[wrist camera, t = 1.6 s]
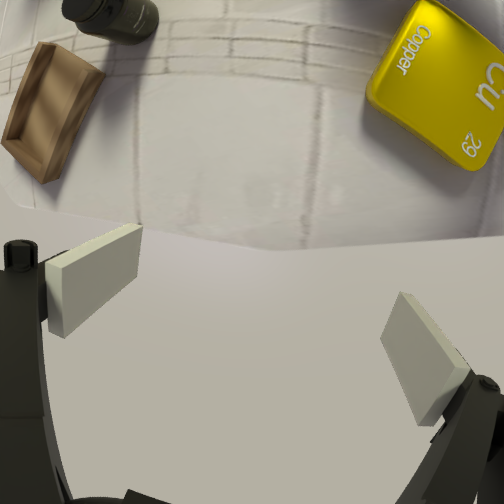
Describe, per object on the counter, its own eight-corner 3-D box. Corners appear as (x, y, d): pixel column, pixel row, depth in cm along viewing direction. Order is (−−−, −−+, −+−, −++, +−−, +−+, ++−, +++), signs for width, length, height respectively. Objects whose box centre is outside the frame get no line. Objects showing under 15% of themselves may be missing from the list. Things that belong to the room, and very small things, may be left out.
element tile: (411, 2, 24) (423, -12, 20) (509, 78, 25) (529, 75, 20) (358, 99, 31) (364, 96, 27) (461, 172, 31) (479, 180, 27)
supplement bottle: (165, 32, 31) (109, 7, 20) (119, 54, 33) (56, 42, 22) (155, -10, 29) (101, -41, 18) (111, 14, 30) (51, -6, 20)
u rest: (56, 43, 33) (38, 41, 29) (106, 74, 34) (88, 72, 31) (16, 139, 40) (0, 143, 37) (58, 178, 41) (41, 184, 38)
